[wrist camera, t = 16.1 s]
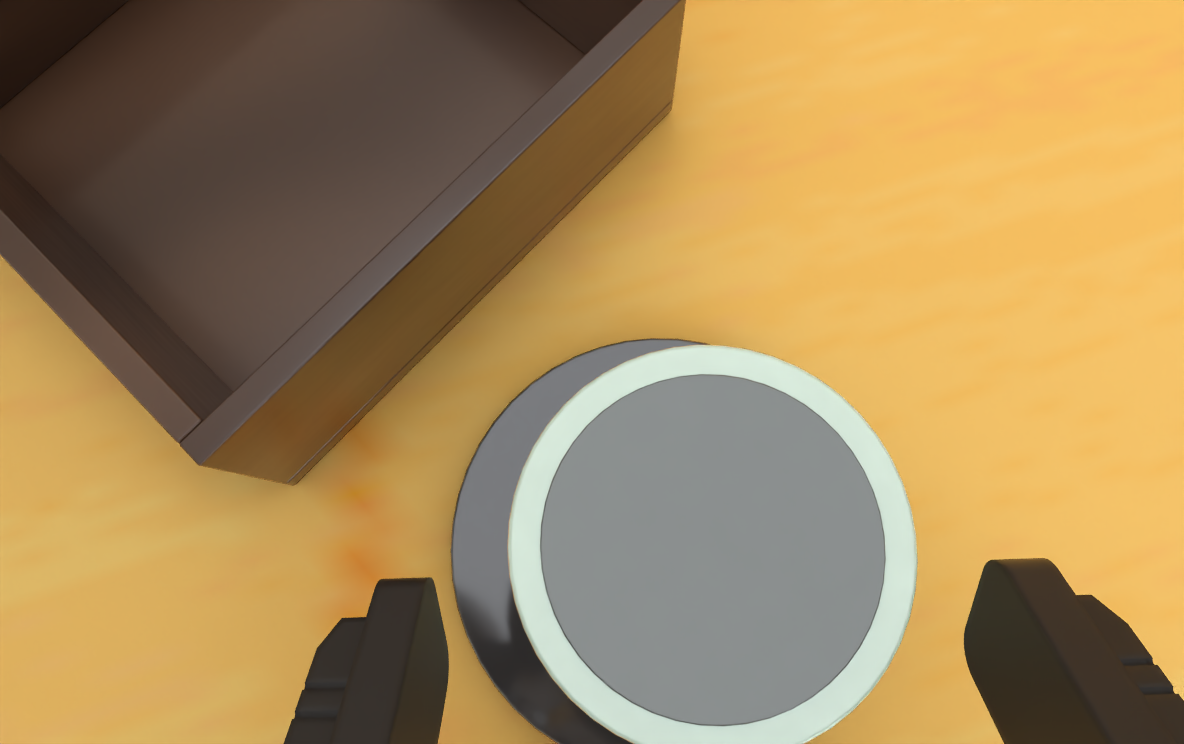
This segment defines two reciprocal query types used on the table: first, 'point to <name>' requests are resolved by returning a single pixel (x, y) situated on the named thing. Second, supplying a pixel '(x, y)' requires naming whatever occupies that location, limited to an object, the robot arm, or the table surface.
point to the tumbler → (712, 550)
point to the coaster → (486, 541)
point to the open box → (301, 186)
